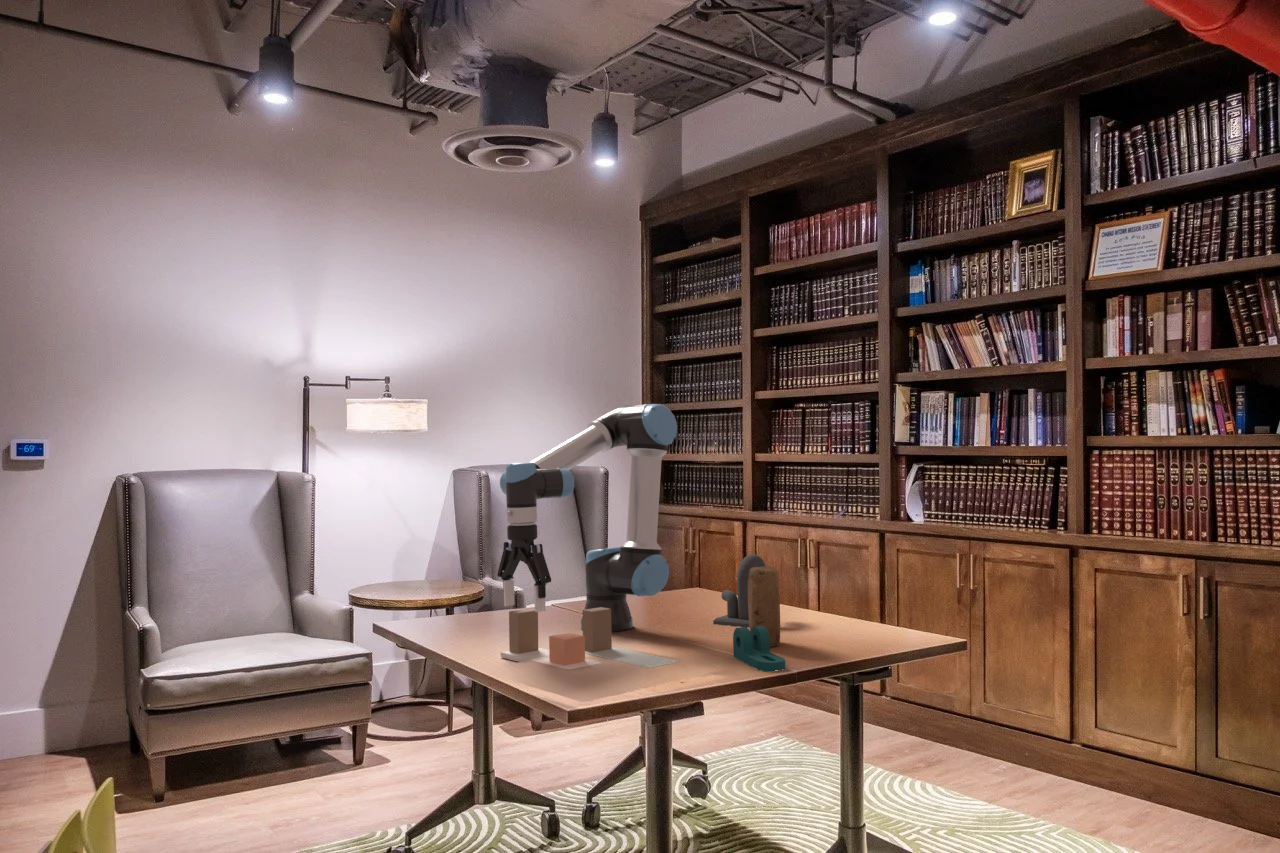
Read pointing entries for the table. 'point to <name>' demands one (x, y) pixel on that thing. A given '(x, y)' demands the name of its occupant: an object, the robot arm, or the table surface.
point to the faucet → (739, 595)
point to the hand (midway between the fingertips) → (524, 608)
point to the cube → (567, 649)
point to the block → (764, 601)
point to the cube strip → (544, 659)
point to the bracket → (756, 649)
